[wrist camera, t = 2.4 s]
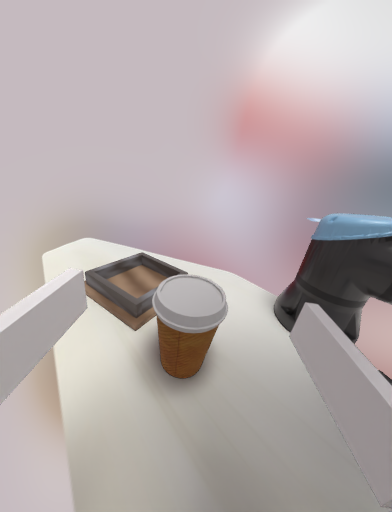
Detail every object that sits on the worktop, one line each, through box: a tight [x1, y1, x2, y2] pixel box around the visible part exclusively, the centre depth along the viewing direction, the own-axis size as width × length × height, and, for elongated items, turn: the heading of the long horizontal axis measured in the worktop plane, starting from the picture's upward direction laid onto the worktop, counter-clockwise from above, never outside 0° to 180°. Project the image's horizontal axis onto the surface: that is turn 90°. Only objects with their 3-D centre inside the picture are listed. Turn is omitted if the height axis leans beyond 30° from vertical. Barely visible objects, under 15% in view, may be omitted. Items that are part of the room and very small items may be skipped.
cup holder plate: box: [84, 253, 188, 331], centre depth 41 cm, size 18×18×4 cm
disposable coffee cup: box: [152, 274, 228, 378], centre depth 25 cm, size 10×10×12 cm
